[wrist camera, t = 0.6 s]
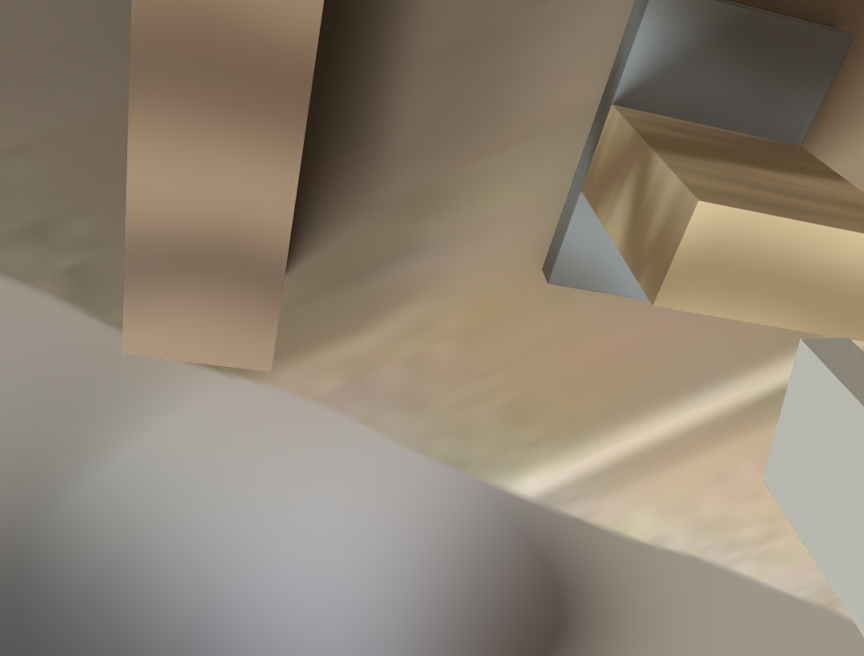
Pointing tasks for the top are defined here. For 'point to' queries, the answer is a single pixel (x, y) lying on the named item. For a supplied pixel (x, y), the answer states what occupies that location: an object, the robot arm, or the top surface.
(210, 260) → the walnut beam
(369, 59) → the top surface
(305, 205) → the top surface
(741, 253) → the fulcrum
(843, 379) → the robot arm
